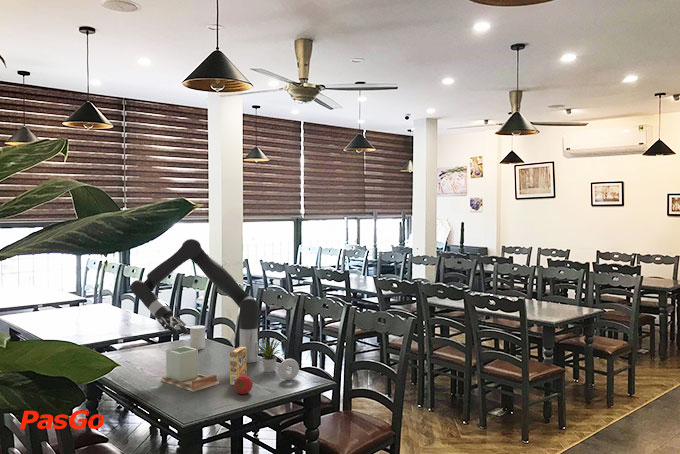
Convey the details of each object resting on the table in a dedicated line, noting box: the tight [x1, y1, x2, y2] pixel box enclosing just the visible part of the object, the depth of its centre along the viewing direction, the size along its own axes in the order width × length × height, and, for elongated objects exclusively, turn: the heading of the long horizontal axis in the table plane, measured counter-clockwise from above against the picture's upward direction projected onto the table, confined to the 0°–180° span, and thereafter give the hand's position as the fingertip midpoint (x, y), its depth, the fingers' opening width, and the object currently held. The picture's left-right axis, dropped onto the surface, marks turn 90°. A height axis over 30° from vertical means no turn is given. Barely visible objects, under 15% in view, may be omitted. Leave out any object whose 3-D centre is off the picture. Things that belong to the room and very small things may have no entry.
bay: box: [160, 373, 220, 393], centre depth 247 cm, size 24×14×4 cm, turn 52°
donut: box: [277, 358, 300, 381], centre depth 252 cm, size 10×4×10 cm, turn 116°
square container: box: [165, 345, 199, 382], centre depth 251 cm, size 10×10×13 cm
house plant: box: [257, 337, 286, 373], centre depth 268 cm, size 14×14×16 cm
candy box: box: [229, 346, 248, 386], centre depth 248 cm, size 9×4×15 cm, turn 162°
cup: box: [189, 325, 206, 351], centre depth 310 cm, size 8×8×12 cm
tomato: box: [234, 375, 254, 395], centre depth 232 cm, size 8×8×8 cm
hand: (182, 333), depth 255 cm, fingers open, 8 cm apart
